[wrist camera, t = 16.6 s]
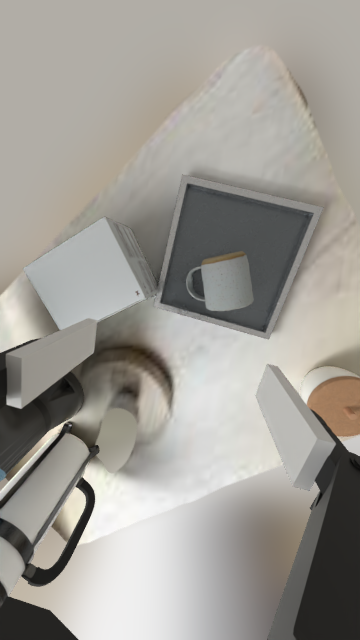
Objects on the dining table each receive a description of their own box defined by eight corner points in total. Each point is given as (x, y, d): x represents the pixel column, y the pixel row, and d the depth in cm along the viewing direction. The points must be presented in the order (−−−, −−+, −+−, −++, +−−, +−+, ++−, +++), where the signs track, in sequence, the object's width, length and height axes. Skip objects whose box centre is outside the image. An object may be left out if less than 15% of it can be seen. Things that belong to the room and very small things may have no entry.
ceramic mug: (244, 248, 33) (250, 249, 26) (250, 295, 36) (257, 308, 29) (182, 262, 36) (173, 267, 29) (192, 305, 38) (186, 320, 31)
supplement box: (130, 226, 37) (104, 213, 28) (162, 291, 39) (147, 299, 30) (61, 267, 41) (19, 267, 32) (93, 324, 43) (63, 339, 34)
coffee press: (53, 465, 56) (-112, 673, 27) (44, 417, 52) (-160, 605, 23) (111, 475, 54) (-2, 714, 25) (107, 427, 50) (-33, 648, 21)
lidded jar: (344, 408, 40) (383, 450, 31) (286, 402, 41) (308, 440, 32) (357, 359, 37) (405, 389, 28) (295, 354, 38) (322, 382, 29)
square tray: (156, 304, 39) (153, 306, 38) (184, 179, 33) (182, 174, 31) (265, 335, 38) (268, 339, 36) (316, 210, 32) (323, 207, 30)
